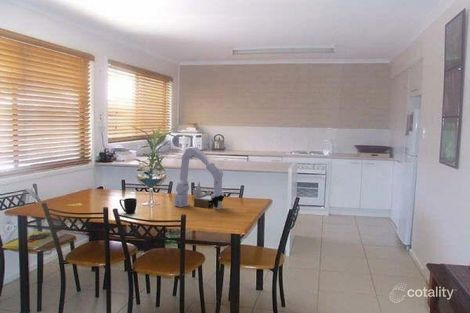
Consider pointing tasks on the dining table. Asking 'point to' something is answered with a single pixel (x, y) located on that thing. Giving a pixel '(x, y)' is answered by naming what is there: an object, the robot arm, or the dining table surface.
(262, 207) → the dining table surface
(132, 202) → the mug
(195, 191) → the crystal
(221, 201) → the white block
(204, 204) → the frame
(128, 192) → the dining table surface
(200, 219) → the dining table surface
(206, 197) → the trapdoor
